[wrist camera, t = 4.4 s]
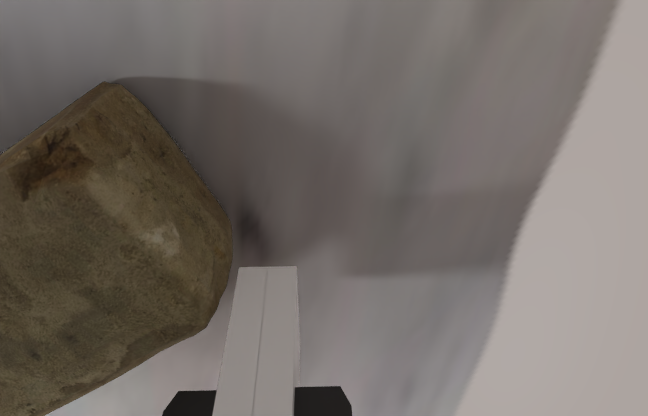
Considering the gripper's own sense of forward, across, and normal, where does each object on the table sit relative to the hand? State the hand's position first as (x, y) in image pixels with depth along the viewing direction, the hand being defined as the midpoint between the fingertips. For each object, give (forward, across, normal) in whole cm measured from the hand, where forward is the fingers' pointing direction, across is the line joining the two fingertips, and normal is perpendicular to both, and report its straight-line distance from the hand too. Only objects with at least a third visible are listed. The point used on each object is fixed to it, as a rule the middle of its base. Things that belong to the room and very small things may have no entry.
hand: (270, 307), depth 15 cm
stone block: (+3, -7, 0) cm, 8 cm away
